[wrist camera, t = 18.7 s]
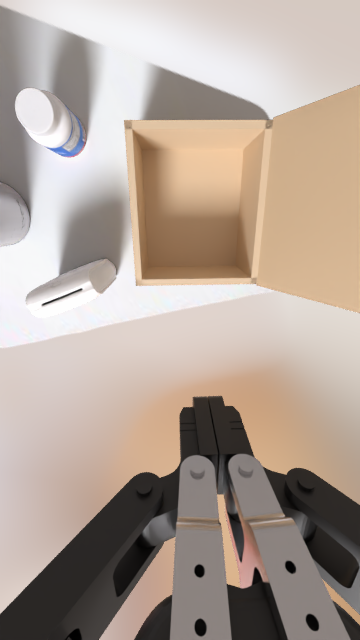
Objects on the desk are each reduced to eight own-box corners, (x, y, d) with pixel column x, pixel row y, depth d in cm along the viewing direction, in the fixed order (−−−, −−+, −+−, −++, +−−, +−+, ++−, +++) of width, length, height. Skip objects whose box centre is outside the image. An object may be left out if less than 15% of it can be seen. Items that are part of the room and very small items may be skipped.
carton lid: (399, 323, 22) (428, 310, 25) (493, 34, 15) (517, 63, 18) (256, 285, 35) (287, 279, 38) (273, 117, 28) (308, 126, 31)
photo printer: (67, 299, 45) (31, 328, 34) (54, 276, 44) (11, 298, 32) (121, 278, 44) (102, 300, 33) (109, 254, 43) (86, 268, 31)
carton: (143, 271, 44) (136, 285, 34) (136, 144, 37) (124, 120, 28) (239, 269, 44) (256, 283, 35) (248, 143, 37) (273, 119, 28)
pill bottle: (40, 140, 37) (-3, 114, 28) (59, 102, 35) (19, 62, 26) (75, 167, 38) (44, 151, 29) (94, 132, 36) (68, 104, 27)
